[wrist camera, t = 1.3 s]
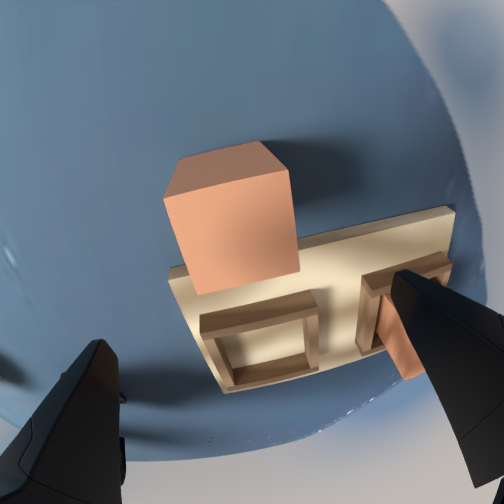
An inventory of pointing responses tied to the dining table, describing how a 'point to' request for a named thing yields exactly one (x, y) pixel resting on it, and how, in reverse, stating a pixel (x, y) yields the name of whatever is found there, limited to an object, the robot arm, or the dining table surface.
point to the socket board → (319, 304)
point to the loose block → (233, 217)
